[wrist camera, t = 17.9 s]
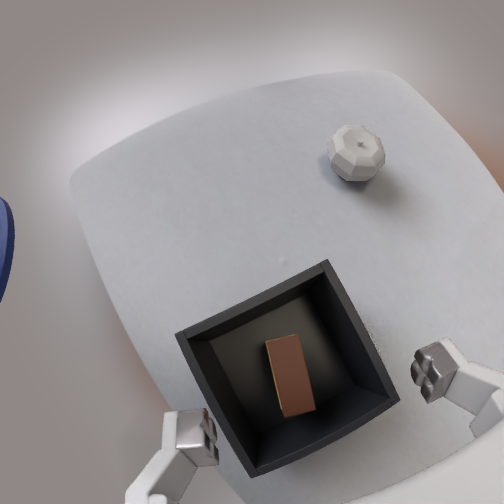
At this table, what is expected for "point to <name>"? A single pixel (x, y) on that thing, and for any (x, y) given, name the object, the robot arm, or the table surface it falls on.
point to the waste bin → (261, 377)
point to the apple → (355, 153)
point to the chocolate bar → (290, 375)
